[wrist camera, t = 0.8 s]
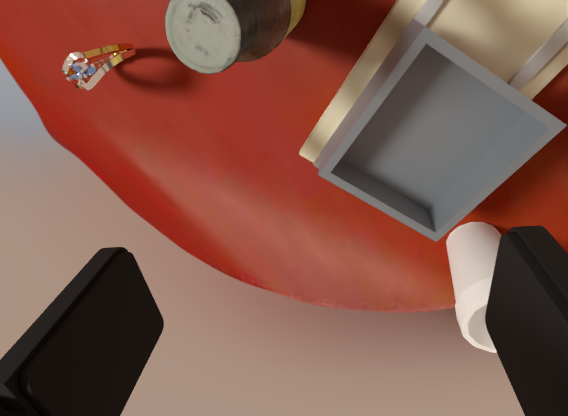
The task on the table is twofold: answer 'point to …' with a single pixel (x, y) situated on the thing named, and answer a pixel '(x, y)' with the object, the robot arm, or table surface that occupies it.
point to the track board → (463, 48)
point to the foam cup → (473, 278)
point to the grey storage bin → (433, 135)
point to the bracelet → (94, 64)
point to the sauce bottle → (228, 30)
